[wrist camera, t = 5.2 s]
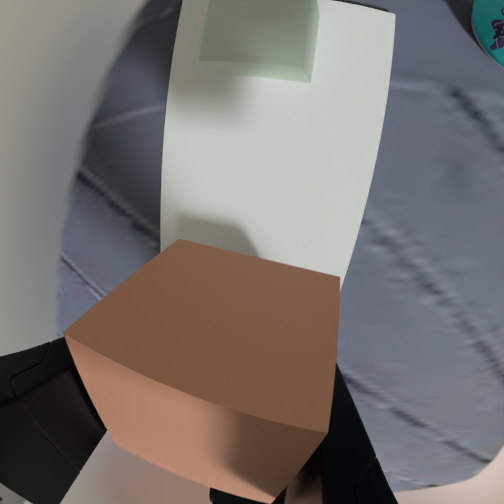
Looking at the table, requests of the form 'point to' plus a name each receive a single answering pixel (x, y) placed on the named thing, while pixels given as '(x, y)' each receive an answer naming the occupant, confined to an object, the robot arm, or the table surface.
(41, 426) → the robot arm
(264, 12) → the sage block
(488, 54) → the beverage can
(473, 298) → the table surface
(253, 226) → the white mat
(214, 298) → the terracotta block
